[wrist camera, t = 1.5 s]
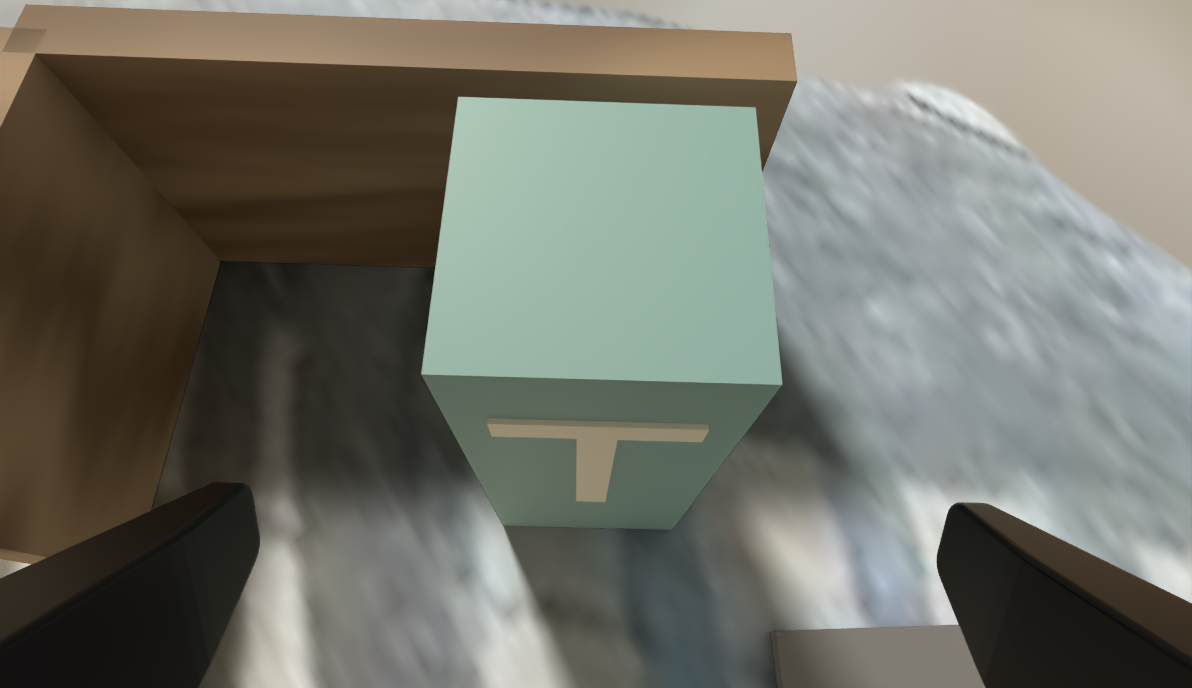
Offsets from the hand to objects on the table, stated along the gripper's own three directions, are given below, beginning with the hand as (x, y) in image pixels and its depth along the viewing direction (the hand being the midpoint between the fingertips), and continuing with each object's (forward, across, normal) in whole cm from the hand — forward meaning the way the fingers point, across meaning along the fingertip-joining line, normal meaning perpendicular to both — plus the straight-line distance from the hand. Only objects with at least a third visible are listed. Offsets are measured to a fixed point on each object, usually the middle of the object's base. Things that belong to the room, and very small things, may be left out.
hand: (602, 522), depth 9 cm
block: (+12, 0, +5) cm, 13 cm away
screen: (+13, +5, +4) cm, 14 cm away
